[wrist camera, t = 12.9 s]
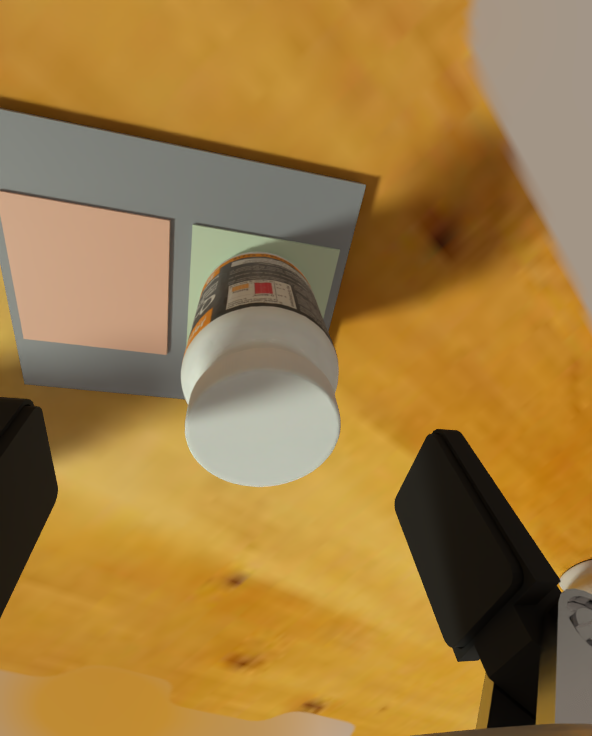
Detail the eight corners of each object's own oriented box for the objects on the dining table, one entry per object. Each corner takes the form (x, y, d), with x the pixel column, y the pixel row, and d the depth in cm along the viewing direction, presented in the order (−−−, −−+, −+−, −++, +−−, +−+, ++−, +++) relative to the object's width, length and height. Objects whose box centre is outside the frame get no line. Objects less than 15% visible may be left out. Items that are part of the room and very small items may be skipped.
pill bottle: (191, 252, 18) (139, 360, 10) (312, 244, 18) (362, 341, 10) (211, 357, 21) (184, 508, 13) (314, 347, 22) (355, 489, 13)
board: (-20, 103, 15) (-36, 102, 14) (362, 182, 18) (367, 185, 17) (31, 376, 22) (22, 386, 21) (306, 402, 25) (308, 412, 24)
